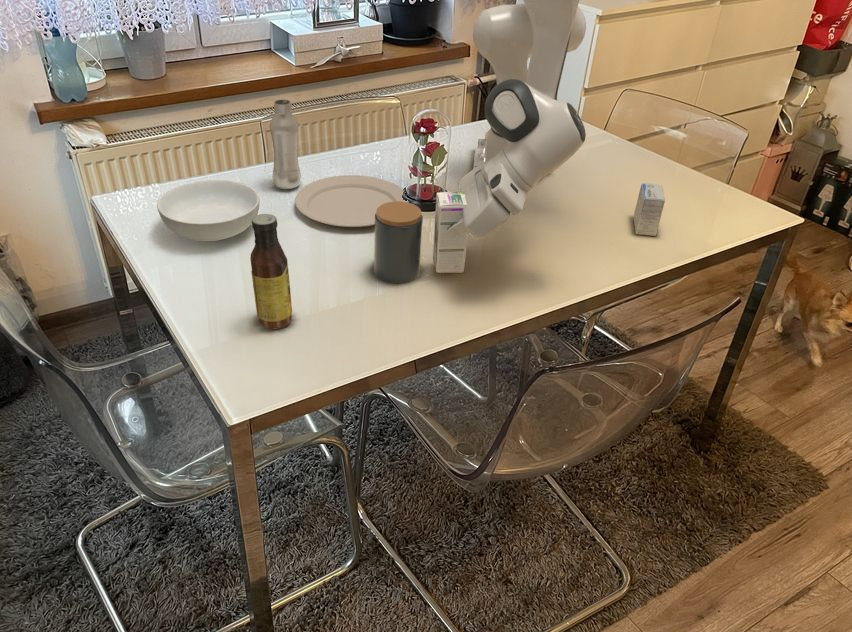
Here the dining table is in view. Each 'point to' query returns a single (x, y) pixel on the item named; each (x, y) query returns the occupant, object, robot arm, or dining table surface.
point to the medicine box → (648, 209)
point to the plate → (346, 199)
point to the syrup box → (447, 249)
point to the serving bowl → (209, 209)
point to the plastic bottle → (285, 146)
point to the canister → (397, 242)
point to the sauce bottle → (270, 274)
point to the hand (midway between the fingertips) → (447, 225)
